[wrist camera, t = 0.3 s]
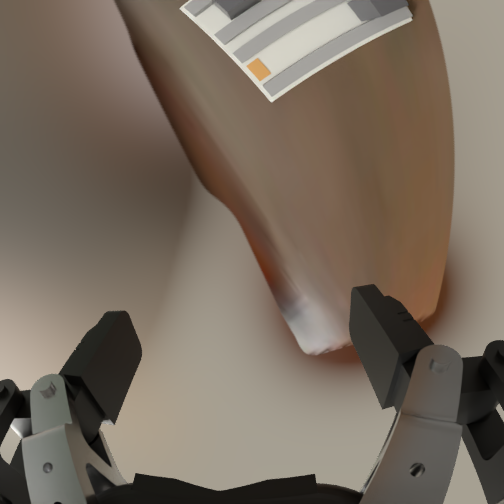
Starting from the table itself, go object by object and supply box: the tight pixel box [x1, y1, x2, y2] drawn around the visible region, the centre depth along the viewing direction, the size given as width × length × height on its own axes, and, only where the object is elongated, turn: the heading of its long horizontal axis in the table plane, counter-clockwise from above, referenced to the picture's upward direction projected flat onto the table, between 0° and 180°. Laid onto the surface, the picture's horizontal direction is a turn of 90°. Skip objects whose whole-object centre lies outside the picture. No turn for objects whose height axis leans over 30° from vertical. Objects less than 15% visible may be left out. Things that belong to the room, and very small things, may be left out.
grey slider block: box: [347, 0, 409, 22], centre depth 18 cm, size 3×4×6 cm
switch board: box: [179, 0, 413, 102], centre depth 21 cm, size 16×22×4 cm
